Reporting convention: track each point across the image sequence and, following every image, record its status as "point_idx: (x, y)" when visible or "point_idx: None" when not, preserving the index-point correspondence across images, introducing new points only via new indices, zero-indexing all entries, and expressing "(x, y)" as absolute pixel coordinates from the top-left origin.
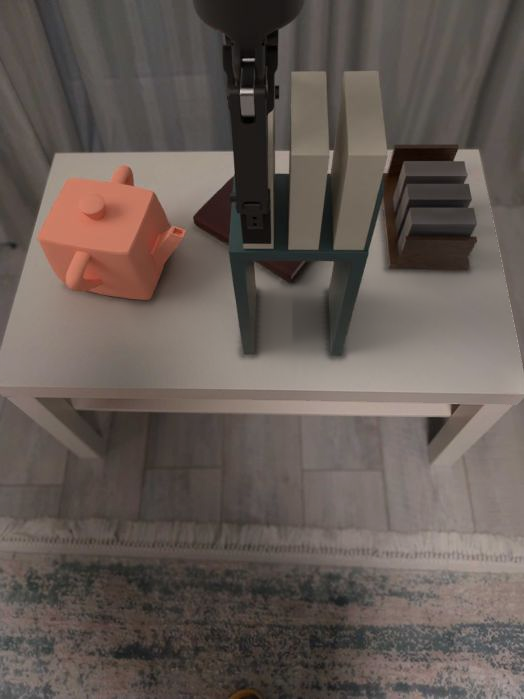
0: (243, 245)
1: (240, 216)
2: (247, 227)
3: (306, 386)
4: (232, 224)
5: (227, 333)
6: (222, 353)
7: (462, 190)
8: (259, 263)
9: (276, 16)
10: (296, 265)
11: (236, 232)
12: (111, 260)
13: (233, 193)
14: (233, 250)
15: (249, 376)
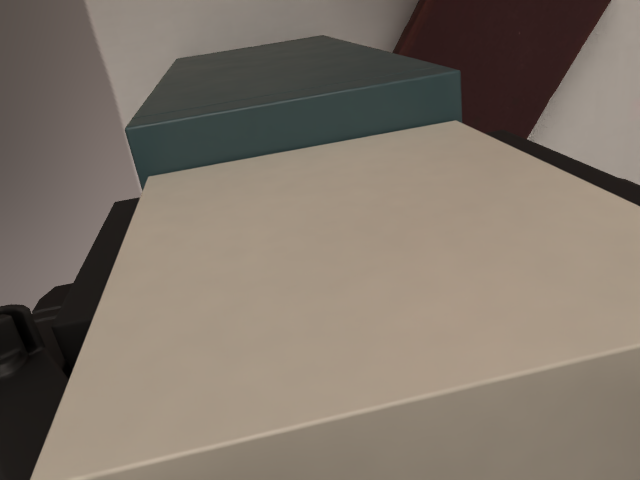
0: (146, 181)
1: (85, 261)
2: (43, 296)
3: (141, 192)
4: (241, 115)
5: (216, 13)
6: (166, 12)
7: None
8: (393, 51)
9: None
10: None
11: (210, 137)
12: None
13: (26, 324)
14: (136, 143)
15: (130, 81)
